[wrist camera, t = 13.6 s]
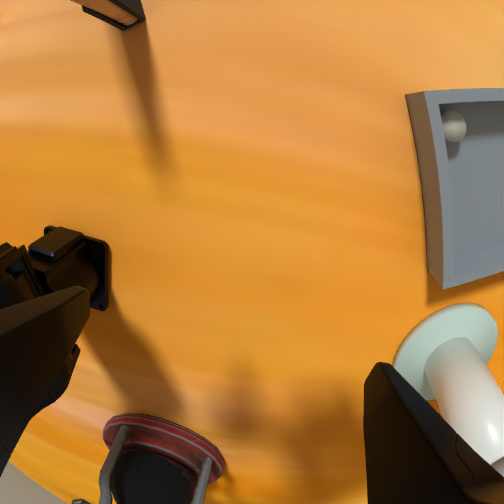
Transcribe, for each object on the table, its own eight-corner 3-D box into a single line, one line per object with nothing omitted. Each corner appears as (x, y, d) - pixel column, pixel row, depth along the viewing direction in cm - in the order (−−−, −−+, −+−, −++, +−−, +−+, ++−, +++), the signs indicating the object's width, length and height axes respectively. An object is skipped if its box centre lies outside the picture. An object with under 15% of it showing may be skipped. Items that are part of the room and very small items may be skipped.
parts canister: (437, 388, 24) (480, 509, 12) (412, 365, 23) (460, 505, 11) (481, 353, 22) (541, 468, 10) (461, 325, 21) (535, 457, 9)
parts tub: (427, 270, 21) (443, 289, 18) (404, 94, 16) (423, 91, 14) (539, 237, 19) (559, 251, 16) (531, 90, 14) (555, 91, 11)
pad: (455, 395, 26) (457, 402, 25) (372, 389, 26) (373, 397, 25) (510, 312, 22) (515, 318, 21) (428, 291, 22) (432, 298, 21)
